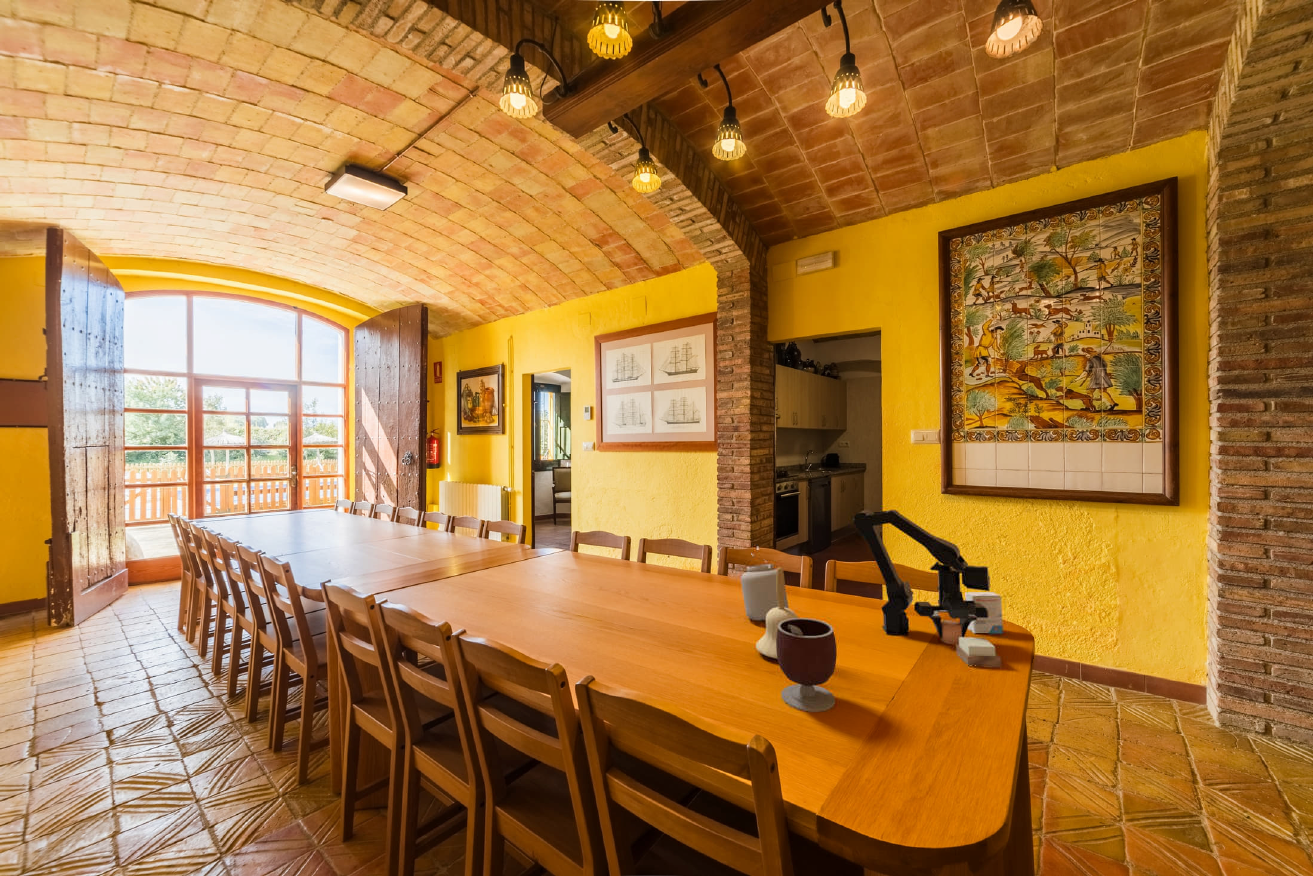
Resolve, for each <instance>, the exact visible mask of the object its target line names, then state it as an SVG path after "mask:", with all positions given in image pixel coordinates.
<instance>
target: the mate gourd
mask: <svg viewBox="0 0 1313 876" xmlns="http://www.w3.org/2000/svg"><path fill="white" fill-rule="evenodd" d="M834 632H835V631H834V628H833V626H832V625H831V624H829V623H828V622H827V621H823V620H819V619H815V618H807V617H806V618H803V617H797V618H793V619H787V620H784V621H782V622H780V623H779V624H778V630H777V637H776V651H777V657H778V659H777V662H778V665H779V669H780V670H781V671H782V673H783V674H784V675H785V677H786V678H787V679H788V680H790V682H793V683H796V684H792V685H791V684H790V685H788V686H786V687H785V688H783V689H782V690H781V700H782V699H783V700H784V701H783V700H782V701H783V703H784V702H786V703H787V704H788V705H790V706H791V707H790V706H789V707H790V708H792V707H793V708H792V709H794V708H797V709H798V711H801V710H803V711H802V712H806V711H809V712H808V713H819V712H820V711H821V712H825V711H829V710H830V709H831V707H832V708H833V707H834V706H833V705H835V703H836V700H835V696H834V693H832V692H831V691H829V690H828V689H826V688H823V687H822V686H821V685H823V684H825V683H827V682H828V681H829V679H830V678H831V677H832V676H833V674H834V673H835V669H836V664H837V654H838V653H837V650H838V649H837V643H836V637H835V633H834ZM819 685H820V686H819ZM787 704H786V705H787ZM788 705H787V706H788ZM797 709H796V710H797Z"/></svg>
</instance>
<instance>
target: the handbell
mask: <svg viewBox="0 0 1313 876" xmlns="http://www.w3.org/2000/svg"><path fill="white" fill-rule="evenodd" d="M776 569H777V573H776V592H777V599H778V604H779V606H778V607H776V608H773V609H771V610H770V611H769V612H768V613H767V615H766V620H765V634H763V636H762V637H761V638H760V639H759V640H758V641H757V642H756V644H755V649H756V650H757V651H758V652H759V653H760V654H762V655H764V656H766V657H769V658H773V659H776V660H778V657H777V651H776V637H777V630H778V624H779V623H780V622H782V621H784V620H787V619H793V618H798V615H797V614H796V612H795V611H793V610H792V609H790V608H789V609H788V608H785V607H784V599H785V590H786V585H785V584H786V583H785V574H784V573H785V572H784V569H783V568H782V567H779V566H778V567H777V568H776Z"/></svg>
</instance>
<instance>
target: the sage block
mask: <svg viewBox="0 0 1313 876" xmlns="http://www.w3.org/2000/svg"><path fill="white" fill-rule="evenodd" d="M959 646H960V647H961V648H962V649H963V650H964V651H965V652H966V653H967V654H968V655H969V656H995V653H996V647H995V645H994V644H992V643H991V642H990V641H989V640H987V638H985V637H966V636H964V637H959Z"/></svg>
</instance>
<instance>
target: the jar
mask: <svg viewBox="0 0 1313 876" xmlns="http://www.w3.org/2000/svg"><path fill="white" fill-rule="evenodd" d="M756 547H757V549H756V550H760V549H759V546H756ZM752 556H754V554H752ZM765 563H767V561H766V560H765ZM776 573H777V568H774V565H773V564H772V563H771V564H770V563H769V564H768V563H767V564H759V565H758V564H757V565H752V566H747V567H746V572H744V573H743V574H741V576H740V584H741V590H742V596H743V603H744V609H745V615H746V616H747V618H749V619H750V620H752V621H766V615H767V613H768V612H769V611H770V610H771V609H773V608H776V607H778V606H779V604H778V599H777V592H776ZM784 607H785V608H788V609H790V608H789V602H788V597H787V592H786V589H785V599H784Z"/></svg>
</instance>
